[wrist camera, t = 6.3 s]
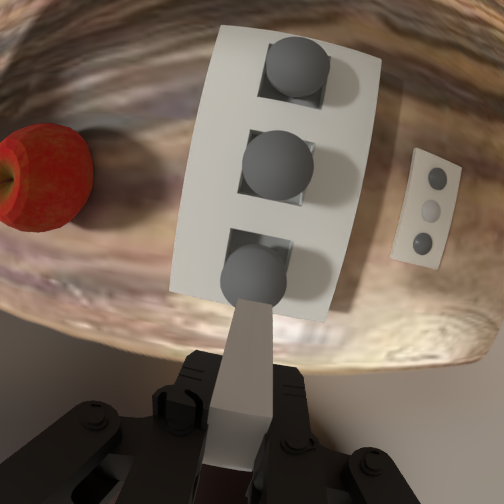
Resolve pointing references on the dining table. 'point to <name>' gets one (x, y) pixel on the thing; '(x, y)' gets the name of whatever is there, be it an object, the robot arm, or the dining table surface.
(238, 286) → the button
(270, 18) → the dining table surface
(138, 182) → the dining table surface
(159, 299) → the dining table surface
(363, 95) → the board
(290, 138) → the button
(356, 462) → the robot arm
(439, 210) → the pattern card
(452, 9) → the dining table surface
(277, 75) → the button
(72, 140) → the apple
